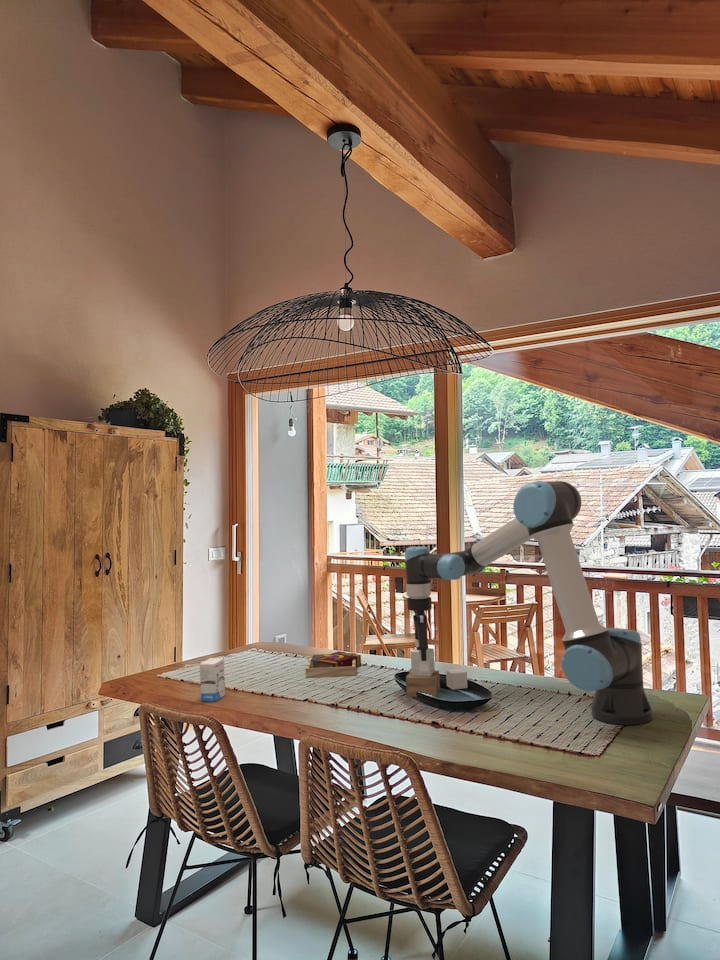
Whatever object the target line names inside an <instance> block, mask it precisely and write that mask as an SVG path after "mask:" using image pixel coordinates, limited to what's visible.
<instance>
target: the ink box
mask: <svg viewBox="0 0 720 960" xmlns="http://www.w3.org/2000/svg"><path fill="white" fill-rule="evenodd" d="M199 678H200V679H199V682H200V699H201V702H205V703H206V702H208V703H209V702H210V703H211V702H213V703H214V702H215V703H216V702H218V700H220V699H221V698H223V697H224V696H225V695H226V682H225V679H226V678H225V659H224V658H222V657H219V658H218V657H210V658H208V659H206V660H204V661H201V662H200V664H199Z"/></svg>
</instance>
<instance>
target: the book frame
mask: <svg viewBox="0 0 720 960" xmlns="http://www.w3.org/2000/svg"><path fill="white" fill-rule="evenodd" d="M349 653H350V654H357V652H349ZM330 654H331V653H320V654H319V653H317V654H310V656H309V658H308V661H307V664H306V667H305V678H306V679H307V678H314V679H315V678H329V677H330V678H331V677H332V678H333V677H353V676H354V677H355V676H356V671H357V667H356V659H355V660H353V662H352V666H348V667H325V668H313V662H311V659H314V658H320V657H323V655H330Z"/></svg>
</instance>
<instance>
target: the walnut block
mask: <svg viewBox="0 0 720 960" xmlns="http://www.w3.org/2000/svg"><path fill="white" fill-rule="evenodd" d="M440 682H441V681H440V670H436V669H435V672H434V673H433V674H432V675H431V676H412V671H411V670H409V672H408V674H407V675H406V677H405V685H406V686H405V687H406V691H405V692H406V697H410V698H411V697H413V698H418V697H417V695H416V693H417V692H420V693H425V694H429V695H432V696H435V697H434V698H437V697H438V694H439V692H440V691H441V684H440Z"/></svg>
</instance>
